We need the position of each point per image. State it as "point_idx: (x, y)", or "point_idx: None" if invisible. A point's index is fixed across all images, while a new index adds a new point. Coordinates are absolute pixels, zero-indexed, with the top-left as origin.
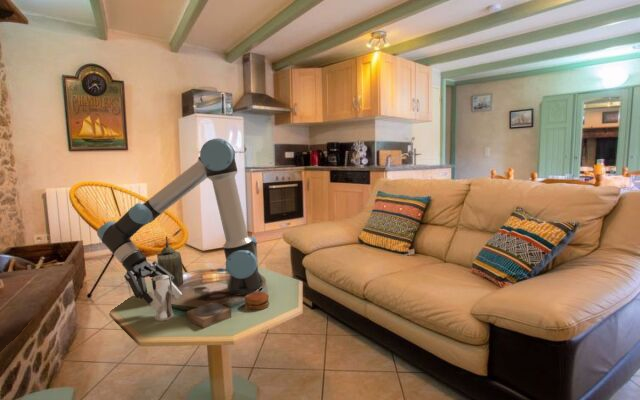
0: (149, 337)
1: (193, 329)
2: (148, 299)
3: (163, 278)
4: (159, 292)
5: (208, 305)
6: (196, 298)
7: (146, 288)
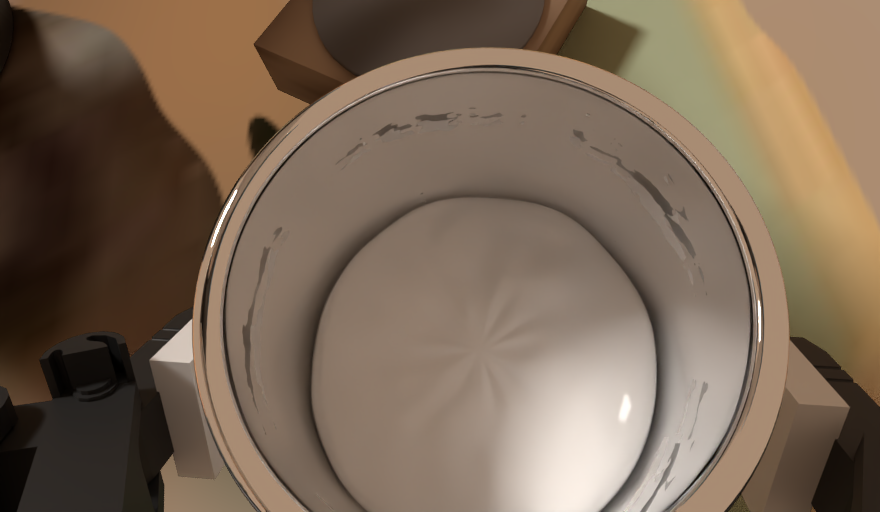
0: (849, 277)
1: (618, 54)
2: (837, 376)
3: (261, 404)
4: (646, 280)
5: (350, 31)
6: (28, 366)
7: (872, 493)
